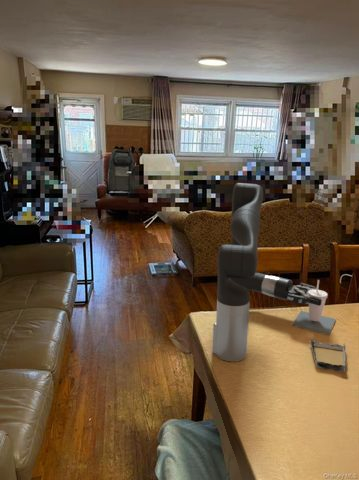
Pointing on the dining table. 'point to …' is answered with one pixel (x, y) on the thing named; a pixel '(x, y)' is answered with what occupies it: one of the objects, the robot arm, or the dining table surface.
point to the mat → (314, 323)
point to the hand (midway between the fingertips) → (324, 299)
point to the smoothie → (316, 310)
